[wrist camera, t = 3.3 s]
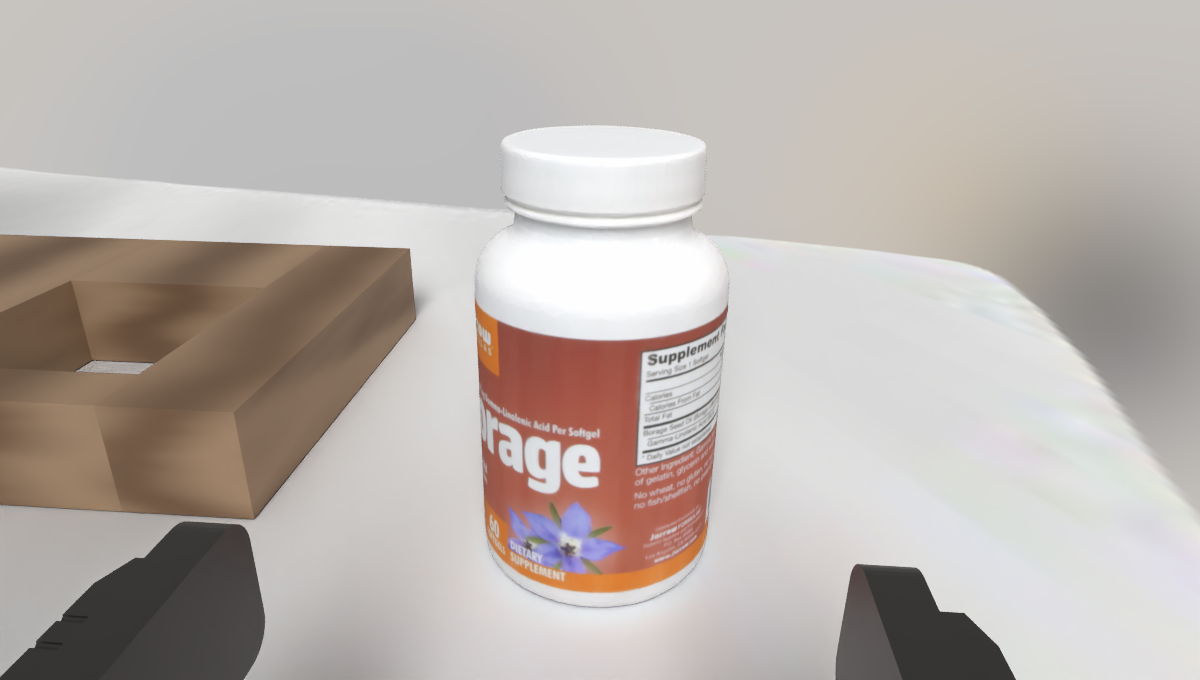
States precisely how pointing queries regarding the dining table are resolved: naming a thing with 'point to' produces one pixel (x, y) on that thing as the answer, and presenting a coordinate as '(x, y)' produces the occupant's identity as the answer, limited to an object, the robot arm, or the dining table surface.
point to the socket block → (182, 366)
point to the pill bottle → (599, 363)
